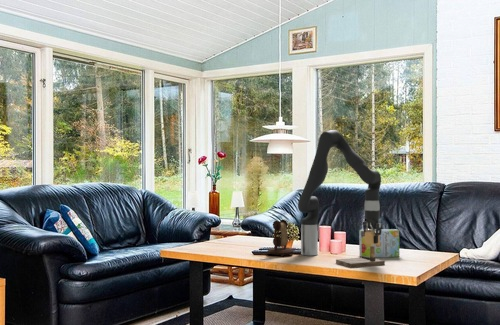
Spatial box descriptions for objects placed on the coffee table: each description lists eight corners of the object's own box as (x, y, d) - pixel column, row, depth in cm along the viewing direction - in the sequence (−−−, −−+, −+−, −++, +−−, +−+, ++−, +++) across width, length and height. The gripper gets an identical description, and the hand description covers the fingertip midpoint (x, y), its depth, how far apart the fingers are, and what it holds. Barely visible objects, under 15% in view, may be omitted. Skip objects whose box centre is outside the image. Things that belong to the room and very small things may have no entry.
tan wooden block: (364, 243, 282) (364, 231, 282) (373, 243, 284) (373, 231, 285) (370, 244, 277) (370, 232, 278) (379, 244, 279) (379, 232, 280)
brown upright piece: (284, 258, 303) (283, 221, 303) (262, 255, 312) (262, 220, 312) (298, 254, 314) (298, 219, 315) (277, 252, 323) (276, 218, 324)
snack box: (396, 255, 310) (396, 228, 310) (399, 257, 304) (399, 229, 304) (359, 256, 309) (359, 229, 309) (361, 257, 303) (361, 230, 303)
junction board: (336, 263, 284) (335, 245, 284) (368, 260, 292) (368, 243, 292) (350, 267, 271) (350, 249, 271) (384, 264, 279) (384, 247, 279)
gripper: (357, 208, 286) (358, 241, 286) (374, 210, 273) (374, 244, 273) (370, 208, 289) (370, 240, 289) (386, 210, 276) (387, 243, 276)
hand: (372, 242), depth 281 cm, fingers closed on tan wooden block, 5 cm apart
